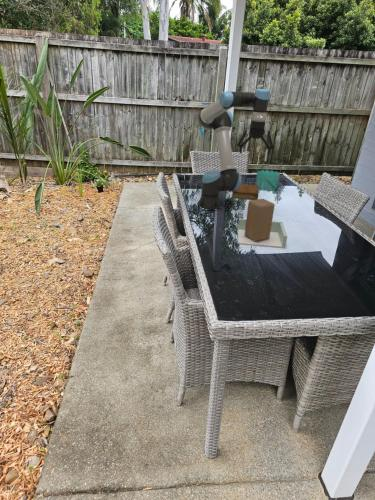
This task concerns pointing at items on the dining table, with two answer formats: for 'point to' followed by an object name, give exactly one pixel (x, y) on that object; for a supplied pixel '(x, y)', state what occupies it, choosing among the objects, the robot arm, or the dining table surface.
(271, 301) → the dining table surface
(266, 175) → the basket
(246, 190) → the diary
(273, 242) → the corner tray
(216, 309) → the dining table surface
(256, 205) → the wooden block
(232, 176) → the robot arm
